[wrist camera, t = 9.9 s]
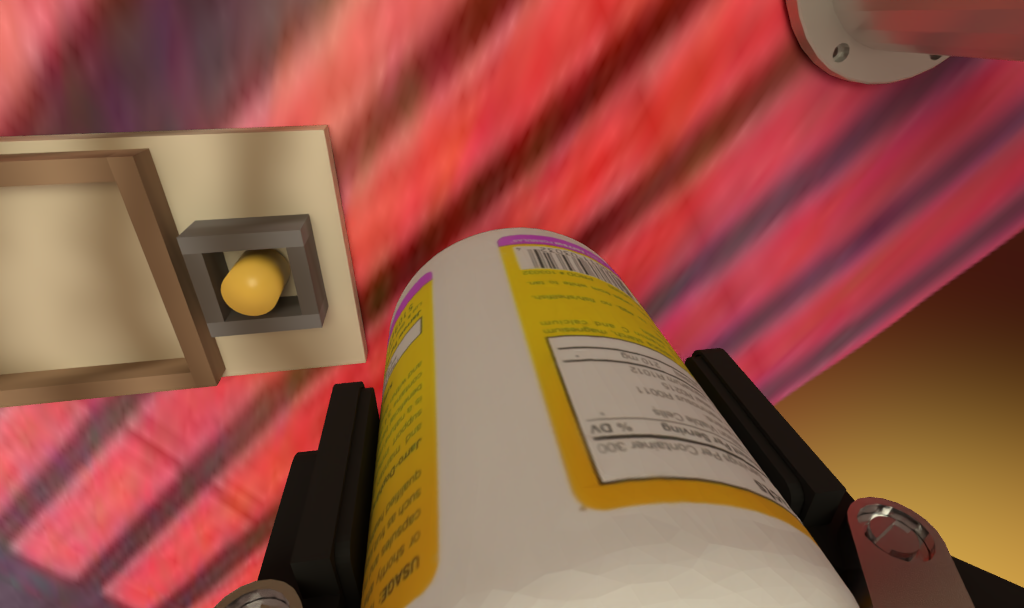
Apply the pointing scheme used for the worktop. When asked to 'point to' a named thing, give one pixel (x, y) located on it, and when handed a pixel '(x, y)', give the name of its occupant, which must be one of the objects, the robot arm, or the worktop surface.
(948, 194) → the worktop surface
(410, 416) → the supplement bottle
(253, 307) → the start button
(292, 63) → the worktop surface
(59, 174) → the beige tray
